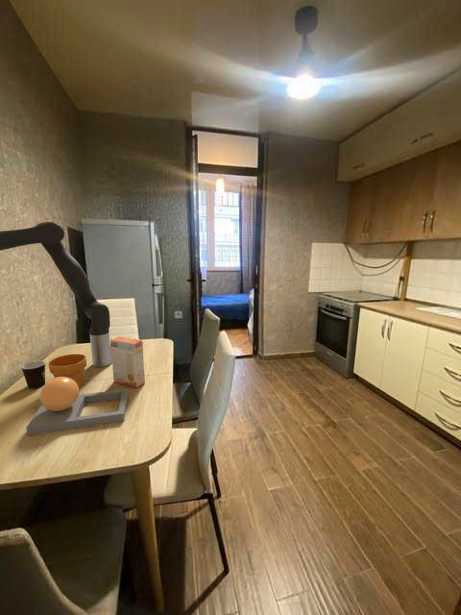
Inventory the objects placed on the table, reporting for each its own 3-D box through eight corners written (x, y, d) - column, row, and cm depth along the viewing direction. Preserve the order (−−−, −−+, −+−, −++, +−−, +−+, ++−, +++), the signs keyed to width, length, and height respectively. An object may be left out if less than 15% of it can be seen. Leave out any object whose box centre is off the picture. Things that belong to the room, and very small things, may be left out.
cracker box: (145, 382, 125) (143, 340, 121) (136, 388, 120) (133, 344, 116) (123, 376, 131) (120, 335, 127) (113, 382, 126) (109, 339, 121)
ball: (72, 396, 108) (69, 368, 105) (86, 407, 101) (82, 377, 98) (37, 409, 99) (32, 379, 96) (49, 423, 91) (44, 390, 89)
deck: (27, 435, 90) (26, 427, 89) (47, 405, 107) (46, 398, 106) (124, 420, 98) (123, 413, 97) (128, 395, 115) (127, 388, 114)
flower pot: (50, 385, 122) (46, 358, 119) (84, 376, 131) (82, 351, 128) (55, 399, 111) (50, 369, 109) (92, 388, 120) (89, 360, 117)
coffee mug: (36, 391, 117) (32, 369, 115) (19, 389, 119) (16, 367, 117) (58, 378, 128) (55, 359, 126) (42, 377, 130) (39, 357, 128)
